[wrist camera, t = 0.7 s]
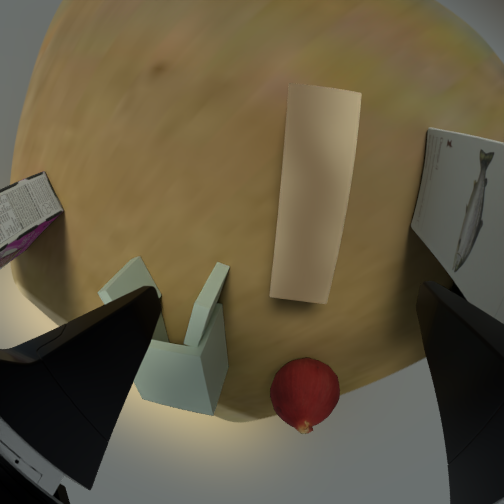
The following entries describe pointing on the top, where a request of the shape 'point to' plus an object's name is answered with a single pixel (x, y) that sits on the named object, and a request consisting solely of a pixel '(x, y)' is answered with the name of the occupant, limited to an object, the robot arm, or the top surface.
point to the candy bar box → (25, 214)
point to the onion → (304, 393)
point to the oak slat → (313, 190)
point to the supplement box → (465, 214)
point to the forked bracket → (179, 356)
